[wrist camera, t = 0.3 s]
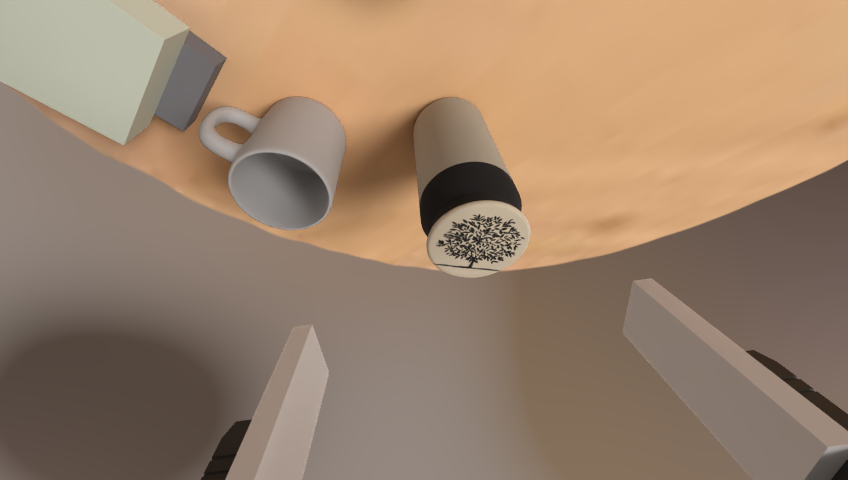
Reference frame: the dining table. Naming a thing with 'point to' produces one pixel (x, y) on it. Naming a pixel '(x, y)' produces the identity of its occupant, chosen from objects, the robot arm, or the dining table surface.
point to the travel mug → (466, 192)
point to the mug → (281, 160)
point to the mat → (189, 82)
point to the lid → (91, 58)
